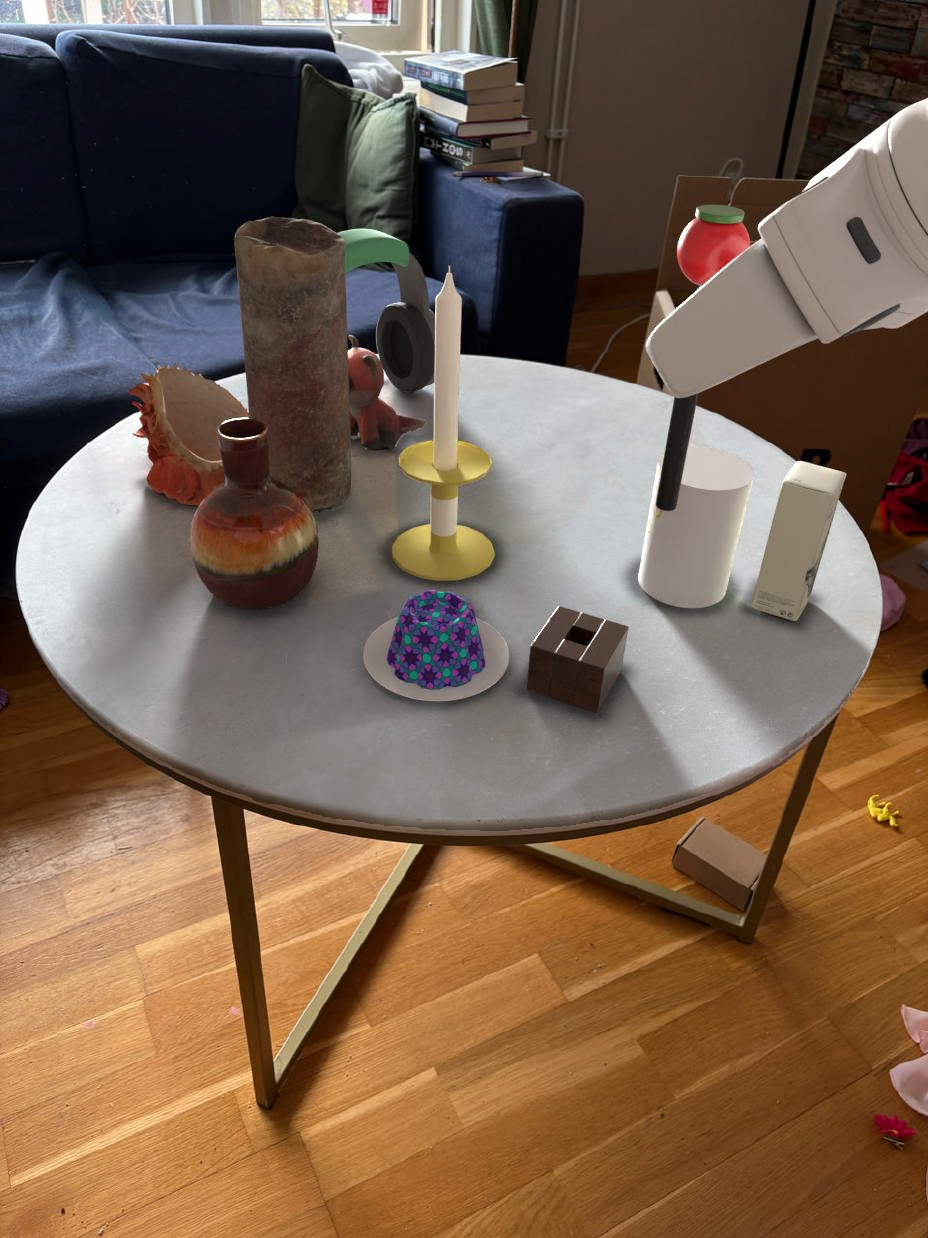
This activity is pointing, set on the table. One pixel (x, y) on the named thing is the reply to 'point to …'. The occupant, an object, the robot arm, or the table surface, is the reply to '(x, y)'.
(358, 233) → the headphones
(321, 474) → the brown textured cylinder
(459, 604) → the pudding
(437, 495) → the candle
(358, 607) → the table surface
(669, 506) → the joystick
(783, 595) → the box
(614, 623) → the block
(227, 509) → the vase
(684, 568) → the white cylinder
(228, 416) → the seashell
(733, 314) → the robot arm
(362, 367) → the stuffed fox
